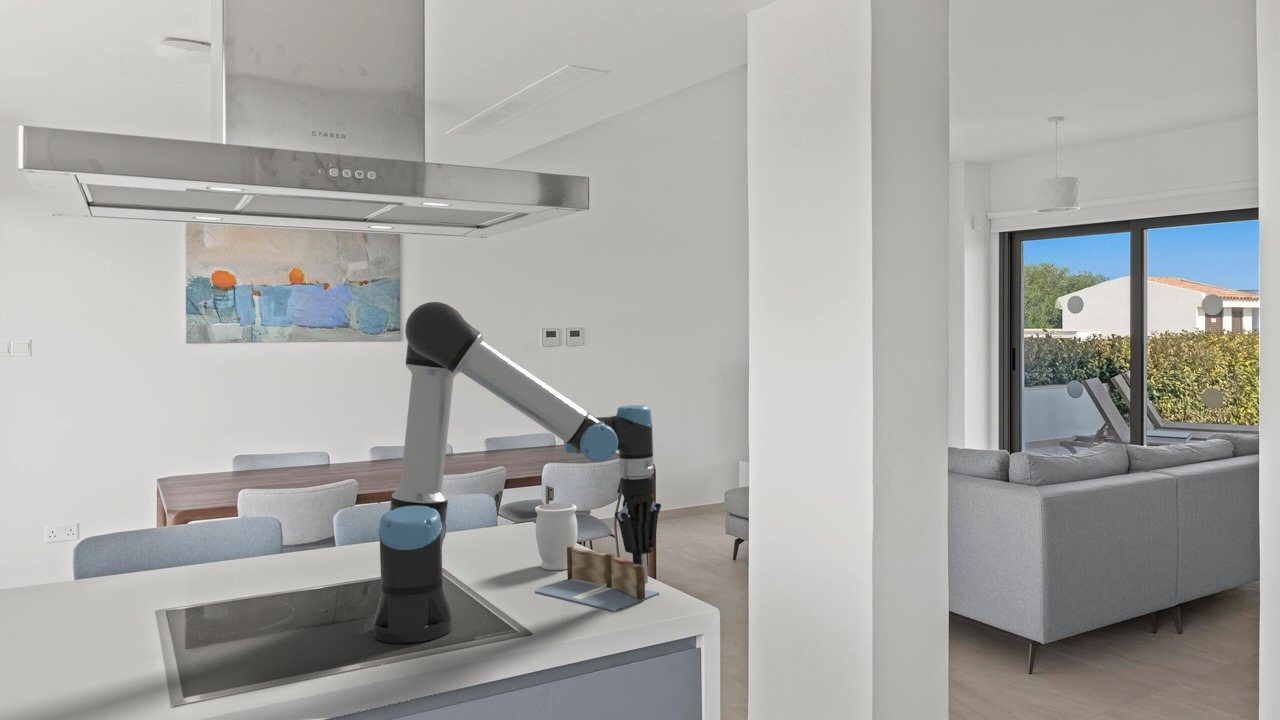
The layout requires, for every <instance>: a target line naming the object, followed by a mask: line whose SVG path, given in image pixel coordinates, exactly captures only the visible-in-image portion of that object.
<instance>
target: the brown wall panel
mask: <svg viewBox="0 0 1280 720" xmlns="http://www.w3.org/2000/svg"><path fill="white" fill-rule="evenodd" d="M611 557H615V553H604V552H599V551H593V550H589V549H588V550H587V549H583V548H577V547H576V548H574V547H567V569H566V570H567V571H566V572H567V573H566V574H567V581H568V580H570V579H573V578H576V579H580V580H585V581H589V582H594V583H599V584H603V585H605V584H606V587H608V588H613V587H612V567H611Z"/></svg>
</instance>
